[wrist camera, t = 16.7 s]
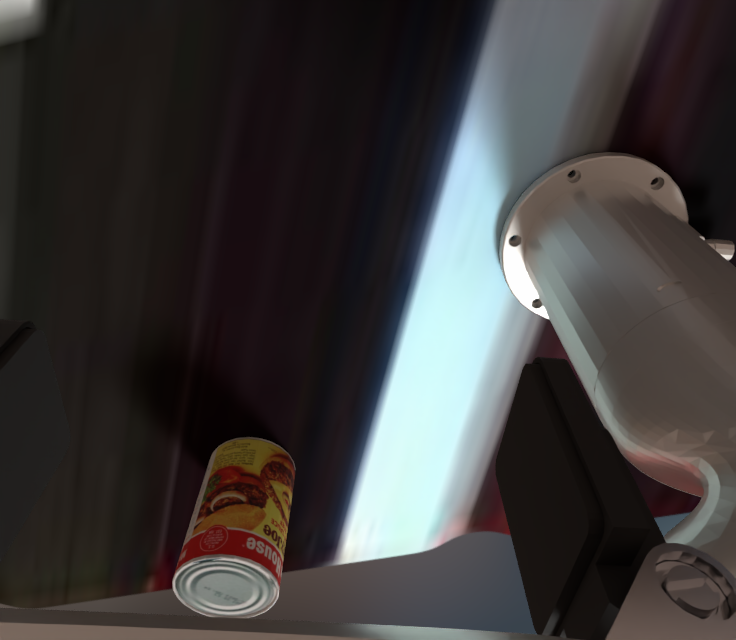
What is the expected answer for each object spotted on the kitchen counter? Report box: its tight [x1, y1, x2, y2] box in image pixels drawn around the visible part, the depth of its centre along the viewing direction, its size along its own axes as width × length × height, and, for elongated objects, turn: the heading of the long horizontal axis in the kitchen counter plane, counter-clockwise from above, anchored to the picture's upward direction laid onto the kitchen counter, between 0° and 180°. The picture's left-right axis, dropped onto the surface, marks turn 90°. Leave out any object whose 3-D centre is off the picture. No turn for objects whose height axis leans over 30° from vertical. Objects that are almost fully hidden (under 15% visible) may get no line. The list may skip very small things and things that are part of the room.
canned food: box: [172, 437, 296, 618], centre depth 48 cm, size 8×8×12 cm
